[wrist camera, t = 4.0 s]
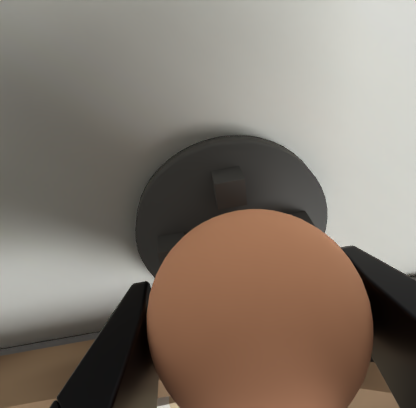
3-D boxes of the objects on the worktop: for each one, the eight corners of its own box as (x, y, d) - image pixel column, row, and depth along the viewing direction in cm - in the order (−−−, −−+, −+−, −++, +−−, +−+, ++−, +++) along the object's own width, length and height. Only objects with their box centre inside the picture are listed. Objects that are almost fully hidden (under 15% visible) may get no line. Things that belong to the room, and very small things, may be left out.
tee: (323, 119, 10) (344, 137, 9) (317, 275, 13) (332, 303, 12) (114, 154, 10) (107, 177, 9) (158, 302, 13) (157, 333, 12)
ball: (323, 157, 9) (462, 304, 5) (318, 294, 12) (404, 468, 7) (131, 189, 9) (100, 368, 5) (169, 320, 12) (171, 511, 7)
